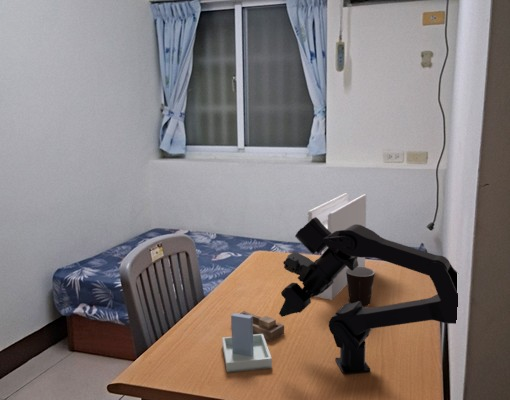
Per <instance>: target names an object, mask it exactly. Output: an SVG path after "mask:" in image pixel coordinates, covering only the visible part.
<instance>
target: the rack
mask: <svg viewBox="0 0 510 400" xmlns="http://www.w3.org/2000/svg"><path fill="white" fill-rule="evenodd" d="M238 314H244V315H251V316H253V335H255V334H263V335H264V338H265V341H266V340H267V341H269V342H273V341H275V340H276V339H278V338H280V337H282V336H283V335H284V334H285V324H281V323H279V322H276V328H275V329H273V330H269V329H266V328H264V327H261V326H259V319H260V318H262V316H259V315H256V314H254V313H250V312H247V311H242V312H240V313H238Z"/></svg>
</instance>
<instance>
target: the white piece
mask: <svg viewBox="0 0 510 400" xmlns="http://www.w3.org/2000/svg"><path fill="white" fill-rule="evenodd" d="M307 215H308V216H307V223H309V222H310V221H311V219H313V218H315V217H317V218H318V219H319V220H320V222H321V223H322V224H323V225H324V226H325V227H326V228H327V229H328V230H329V231H330V232H331V234H332V233H334V232H335V231H340V230H345V229H347V228H349V227H350V226H352V225H355V224H357V225H362V226H364V227H366V226H367V224H366V223H367V222H366V221H367V218H366V217H367V194H362V195H360V196H358V197H357V198H354V199H352V200H351V201H350V194H349V193H347V192H345V193H342V194H340V195H338V196H336V197H335V198H332V199H331V200H328V201H326V202H323V203H322V204H320V205H318V206H316V207H313V208H312V209H310V210H307ZM366 228H367V227H366ZM327 249H328V247H326V248H325V249H324V250H323V253H324V252H325V251H326V250H327ZM357 261H358V267H365V268H366V257H358V258H357ZM347 269H349V268H348V267H347V266H346V267H345V268H344V269H343V270H342V271H341V272H340V273H339V274H338V275H337V277H336V278H335V279H334V280H333V282H334V283H333V284H332V285H331V286H330V287H329V288H328V289H326V290H325V291H324V292H323V293H321V294H319V295H317V296H314V297H316V298H321V299H325V300H326V299H327V300H330V301H331V300H332V301H333V299H334V298H335V297H336V296H337V295H338V294H339V293H340V292H341V291H342V290H343V289H345V287H346V286H348V285H347V275H346V270H347Z"/></svg>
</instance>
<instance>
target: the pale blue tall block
mask: <svg viewBox="0 0 510 400" xmlns="http://www.w3.org/2000/svg"><path fill="white" fill-rule="evenodd" d="M230 320H231V325H230V327H231V337H232V353H234V354H239V355H244V356H250V357H251V356H252V355H253V354H254V351H253V335H254V334H253V316H251V315H244V314H239V313H237V312H233V313H232V314H231V315H230Z"/></svg>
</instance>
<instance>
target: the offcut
mask: <svg viewBox="0 0 510 400" xmlns="http://www.w3.org/2000/svg"><path fill="white" fill-rule="evenodd" d="M261 317H262V316H261ZM276 323H277V319H276V318H272V317H269V316H267V315H264V316H263V317H262V318H260V319H259V326H261V327H264V328H266V329H269V330H271V329H273V328H275V327H276Z"/></svg>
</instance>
